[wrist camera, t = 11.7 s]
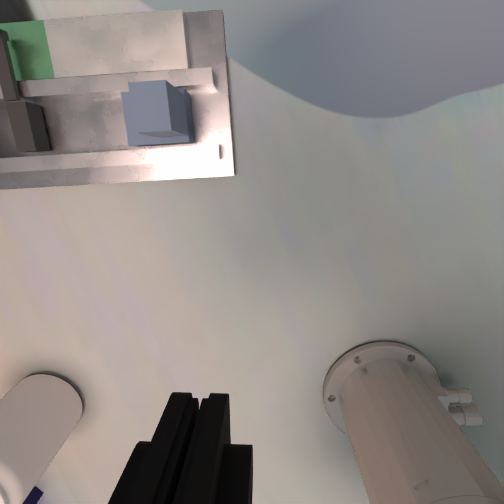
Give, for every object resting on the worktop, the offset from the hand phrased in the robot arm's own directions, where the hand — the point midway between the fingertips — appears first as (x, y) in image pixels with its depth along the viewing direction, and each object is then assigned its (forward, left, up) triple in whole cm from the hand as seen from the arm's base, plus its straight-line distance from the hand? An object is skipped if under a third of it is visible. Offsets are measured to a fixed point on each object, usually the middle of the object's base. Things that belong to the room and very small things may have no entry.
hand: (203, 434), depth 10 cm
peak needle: (+17, -14, -23) cm, 32 cm away
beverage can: (+24, +18, -24) cm, 39 cm away
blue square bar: (+6, -11, -23) cm, 26 cm away
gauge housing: (+13, -13, -24) cm, 30 cm away
